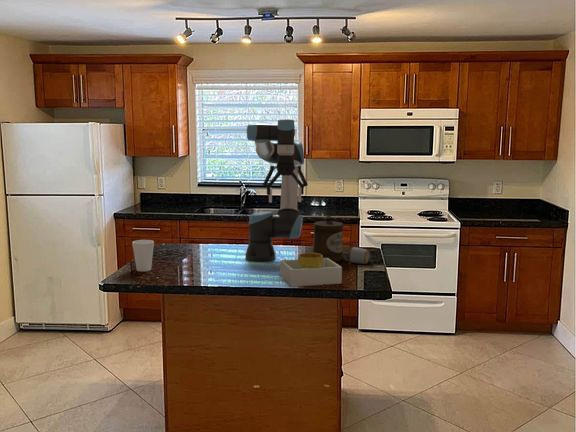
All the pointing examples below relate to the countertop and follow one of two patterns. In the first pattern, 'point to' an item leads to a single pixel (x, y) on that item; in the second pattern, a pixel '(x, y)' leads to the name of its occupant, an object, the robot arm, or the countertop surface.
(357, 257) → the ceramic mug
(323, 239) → the wooden container
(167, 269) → the countertop surface
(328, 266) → the crate
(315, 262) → the plant pot
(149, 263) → the foam cup
